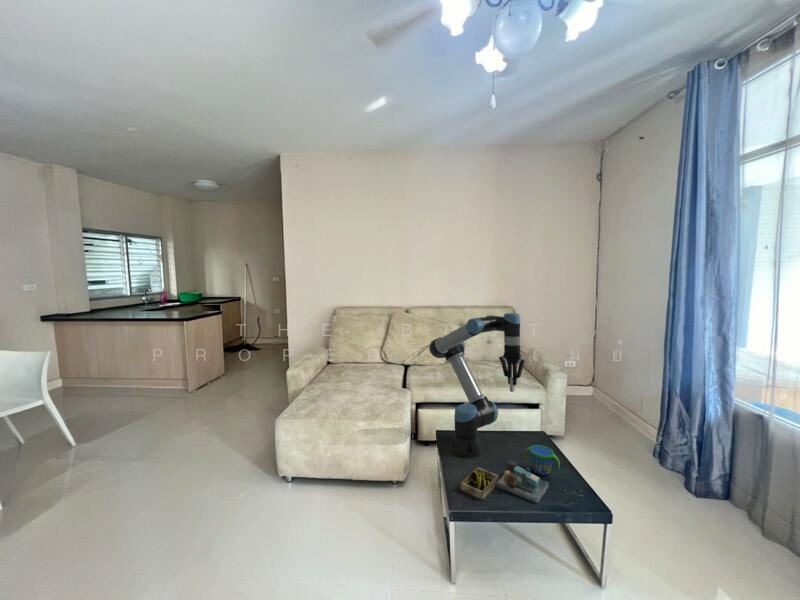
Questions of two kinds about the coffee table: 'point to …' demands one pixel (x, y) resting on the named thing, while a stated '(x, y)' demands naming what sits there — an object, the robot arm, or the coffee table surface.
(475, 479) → the opera glasses
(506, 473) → the ochre button
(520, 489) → the panel
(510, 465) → the dark grey block
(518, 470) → the block
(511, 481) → the brown rectangular block
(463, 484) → the wooden tray
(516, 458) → the coffee table surface
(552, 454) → the snack cup
